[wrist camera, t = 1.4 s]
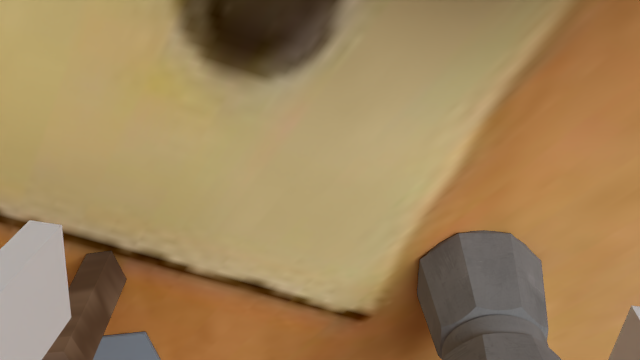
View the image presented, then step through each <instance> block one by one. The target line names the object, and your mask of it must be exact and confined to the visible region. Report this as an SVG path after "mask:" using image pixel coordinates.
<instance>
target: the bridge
mask: <svg viewBox="0 0 640 360" xmlns="http://www.w3.org/2000/svg"><path fill="white" fill-rule="evenodd" d="M126 280H127V279H126V277H125V275H124V274H123V272H122V270H121V268H120V266H119V264H118V262H117V260H116V259H115V257H114V255H113V253H112V251H106V252H98V253H90V254H86V256H85V258H84V260H83V262H82V264H81V266H80V268H79V270H78V272H77V274H76V275H75V277H74V279H73V281H72V283H71V285H70V287H69V289H68V290H69V300H70V310H71V319H70V320H69V322H68V323H67V324H66V326H65V327H64V329H63V330H62V332H61V333H60V334H59V336H58V337H57V339H56V340H55V342H54V343H53V344H52V346H51V347H50V349H49V350H48V352H47V353H46V354H45V356H44V357H43V359H42V360H93V358H94V356H95V353H96V351H97V349H98V346H99V344H100V341H101V339H102V337H103V334H104V332H105V330H106V327H107V325H108V322H109V320H110V318H111V315H112V313H113V311H114V308H115V306H116V303H117V301H118V299H119V296H120V294H121V292H122V289H123V287H124V284H125V282H126Z"/></svg>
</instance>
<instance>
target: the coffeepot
mask: <svg viewBox="0 0 640 360" xmlns="http://www.w3.org/2000/svg"><path fill="white" fill-rule="evenodd" d="M417 296H418V299H419V302H420V304H421V307H422V310H423V313H424V316H425V319H426V322H427V325H428V328H429V331H430V333H431V336H432V339H433V342H434V345H435V348H436V351H437V354H438V356H439V357H440V358H441V359H442V360H561V359H560V357H559V356H558V355H556V354H555V353H554V352H553V351H552V350H551V349H550V348H549V347H548V344H547V336H548V321H547V312H546V302H545V293H544V283H543V274H542V264H541V260H540V259H539V258H538V257H537V256H536V255H535V254H534V253H532V252H531V250H530V249H529V248H528V247H527V246H526V245H525V244H524V243H522V242H521V241H520V240H518V239H517V238H515V237H514V236H513V235H512V234H510V233H503V232H496V231H471V232H466V233H458V234H456V235H454V236H452V237H450V238H448V239H446V240H444V241H442V242H441V243H439V244H437V245H436V246H435V247H434V248H433V249H431V250H430V251H429V253H428V254H427V255H426V256H424V257H423V258H421V259H420V264H419V272H418V287H417Z"/></svg>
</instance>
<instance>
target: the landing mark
mask: <svg viewBox="0 0 640 360" xmlns="http://www.w3.org/2000/svg"><path fill="white" fill-rule="evenodd" d="M93 360H161V359H160V357H159V356H158V354H157V352H156V350H155V348H154V346H153V345H152V343H151V341H150V339H149V337H148V335H147V334H146V332H137V333H127V334H117V335H107V336H103V337H102V339H101V341H100V344H99V346H98V349H97V351H96V353H95V356H94V358H93Z"/></svg>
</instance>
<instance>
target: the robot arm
mask: <svg viewBox="0 0 640 360" xmlns="http://www.w3.org/2000/svg"><path fill="white" fill-rule="evenodd" d="M70 319H71V310H70V300H69V290H68V281H67V271H66V261H65V252H64V242H63V232H62V225H59V224H52V223H45V222H38V221H31V220H29V221H28V222H27V223H26V224H25V225H24V226H23V227H22V228H21V229H20V230H19V231H18V232H17V233H16V234H15V235H14V236H13V237H12V238H11V239H10V240H9V241H8V242H7V243H6V244H5V245H4V246H3V247H2V248H1V249H0V360H42V359H43V357H44V356H45V354H46V353H47V352H48V350H49V349H50V347H51V346H52V344H53V343H54V342H55V340H56V339H57V337H58V336H59V334H60V333H61V332H62V330H63V329H64V327H65V326H66V324H67V323H68V322H69V320H70ZM608 360H640V307H638V306H631V308H630V310H629V313H628V315H627V317H626V320H625V322H624V324H623V327H622V329H621V331H620V334H619V336H618V338H617V341H616V343H615V345H614V348H613V350H612V352H611V355H610V357H609V359H608Z"/></svg>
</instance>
